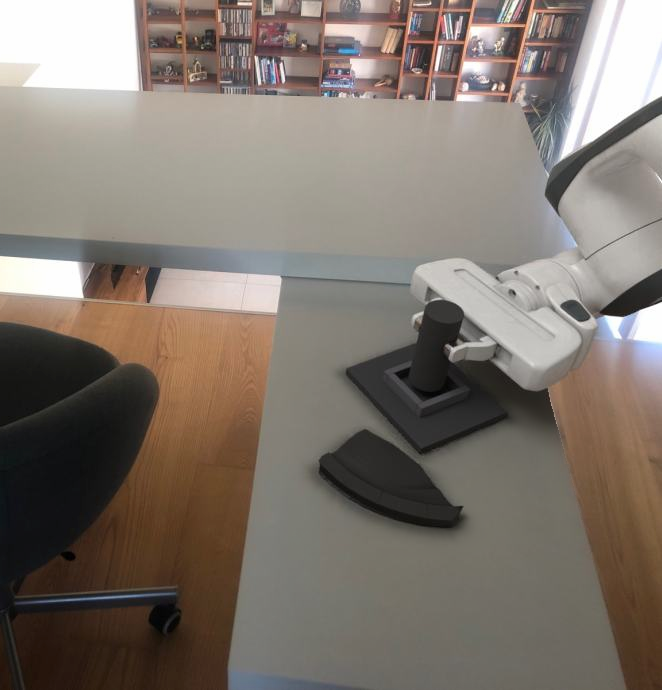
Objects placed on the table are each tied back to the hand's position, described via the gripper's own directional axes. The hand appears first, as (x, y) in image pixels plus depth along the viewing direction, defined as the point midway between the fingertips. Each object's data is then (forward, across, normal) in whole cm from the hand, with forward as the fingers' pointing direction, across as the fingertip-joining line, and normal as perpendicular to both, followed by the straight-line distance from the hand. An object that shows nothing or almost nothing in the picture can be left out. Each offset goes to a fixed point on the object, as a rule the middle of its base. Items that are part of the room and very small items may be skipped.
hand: (431, 339), depth 75 cm
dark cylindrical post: (-1, 0, +6) cm, 7 cm away
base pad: (-1, 0, +9) cm, 9 cm away
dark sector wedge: (+11, +9, +9) cm, 17 cm away
